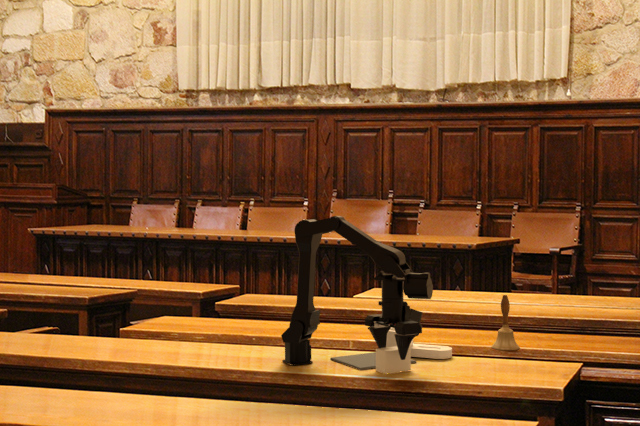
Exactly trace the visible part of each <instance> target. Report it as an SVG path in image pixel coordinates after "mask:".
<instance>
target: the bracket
mask: <svg viewBox="0 0 640 426" xmlns="http://www.w3.org/2000/svg"><path fill="white" fill-rule="evenodd" d="M394 334H397V333H396V331H395V328H390V330H389V331H388V333H387V341H386V347H394V346H397V343H396V339H395V335H394ZM409 348H411V358H412V357H413V358H422V359H423V358H427V359H437V360H446V359H450V358H452V357H453V347H451V346H447V345H435V344H424V343H414V338H413V339H412V341H411V343H410V346H409Z"/></svg>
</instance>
